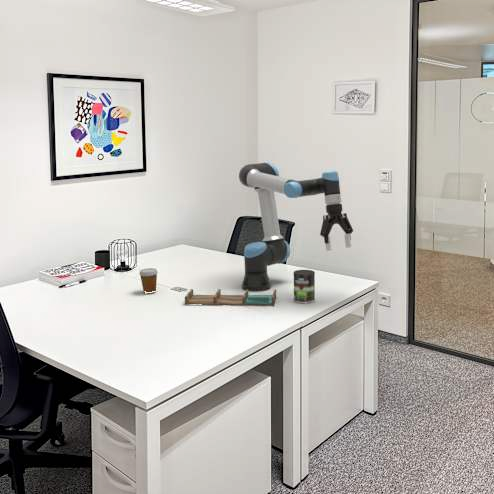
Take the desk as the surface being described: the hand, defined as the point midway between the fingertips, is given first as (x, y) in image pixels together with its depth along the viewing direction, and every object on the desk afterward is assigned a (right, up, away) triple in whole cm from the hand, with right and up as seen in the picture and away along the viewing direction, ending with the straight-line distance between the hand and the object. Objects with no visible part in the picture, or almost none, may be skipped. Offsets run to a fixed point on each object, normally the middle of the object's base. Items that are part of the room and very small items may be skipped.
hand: (338, 249), depth 280 cm
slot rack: (-51, -26, +11) cm, 58 cm away
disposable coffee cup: (-94, -23, +31) cm, 102 cm away
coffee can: (-15, -25, +9) cm, 31 cm away
